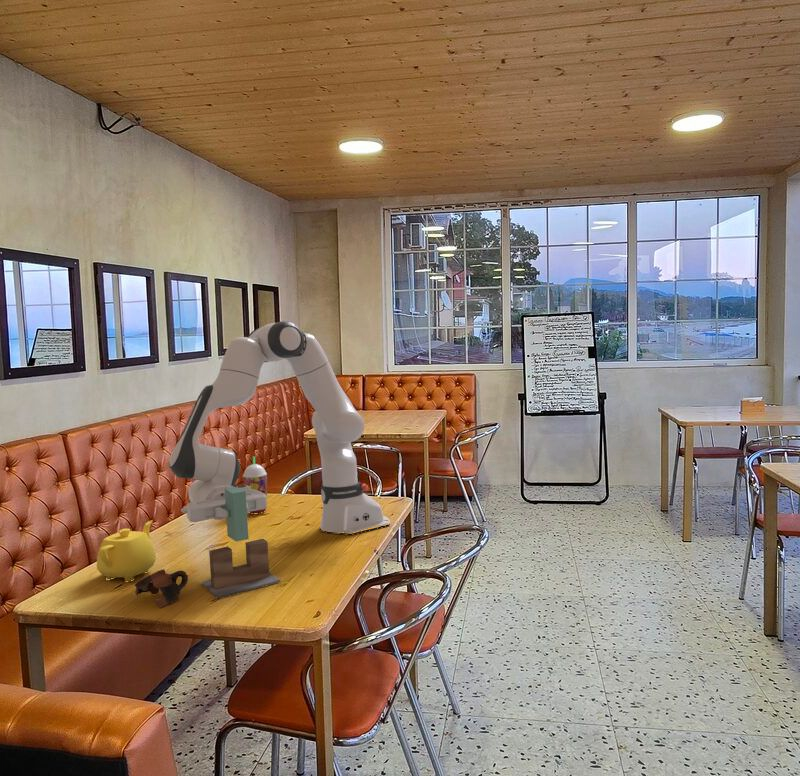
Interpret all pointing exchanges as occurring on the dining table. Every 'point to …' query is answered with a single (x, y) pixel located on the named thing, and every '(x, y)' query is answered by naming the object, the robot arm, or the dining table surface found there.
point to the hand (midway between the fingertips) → (237, 512)
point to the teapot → (126, 554)
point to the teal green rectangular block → (236, 514)
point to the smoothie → (256, 479)
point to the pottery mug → (163, 586)
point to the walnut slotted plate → (239, 570)
